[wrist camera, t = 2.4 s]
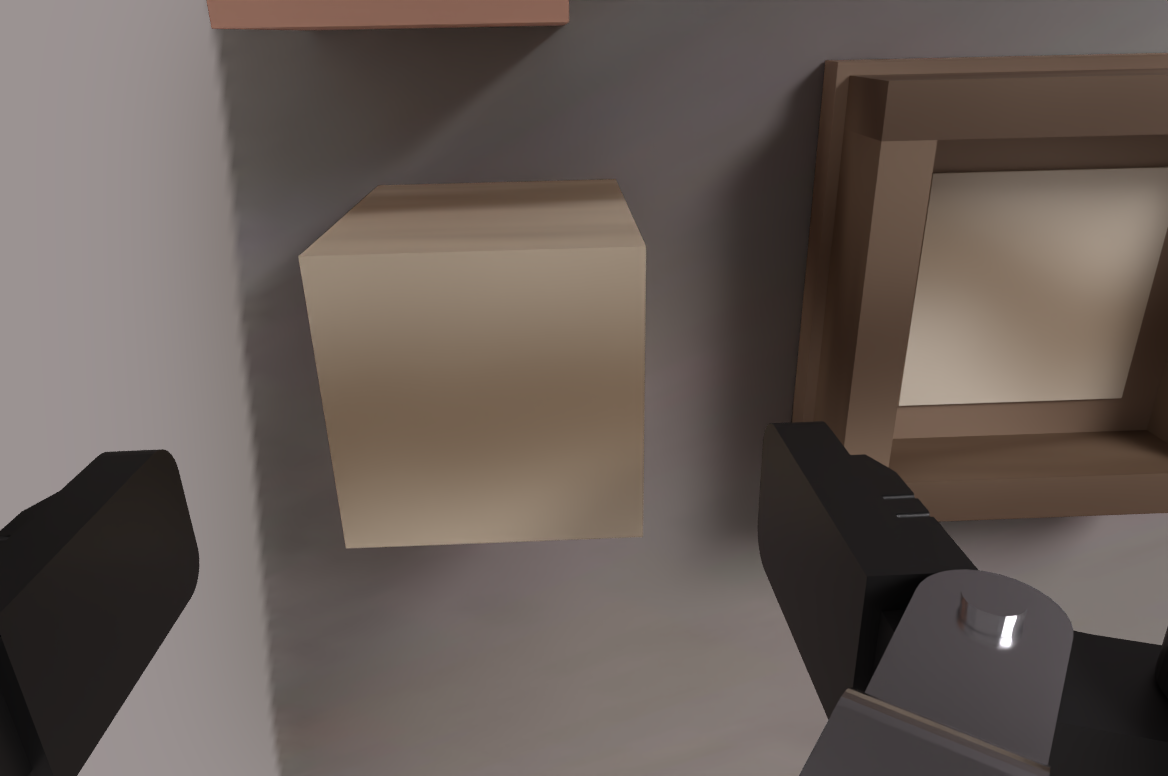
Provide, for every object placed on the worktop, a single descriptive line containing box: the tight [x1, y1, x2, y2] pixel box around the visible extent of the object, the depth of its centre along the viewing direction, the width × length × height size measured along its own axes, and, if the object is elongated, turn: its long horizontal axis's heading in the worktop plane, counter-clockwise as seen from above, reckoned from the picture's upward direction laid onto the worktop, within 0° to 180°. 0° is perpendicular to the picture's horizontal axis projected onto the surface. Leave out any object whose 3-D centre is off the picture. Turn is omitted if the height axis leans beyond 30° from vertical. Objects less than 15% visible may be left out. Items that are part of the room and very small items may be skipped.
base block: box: [298, 179, 646, 548], centre depth 15 cm, size 5×5×6 cm
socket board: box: [792, 53, 1168, 522], centre depth 17 cm, size 10×10×3 cm
